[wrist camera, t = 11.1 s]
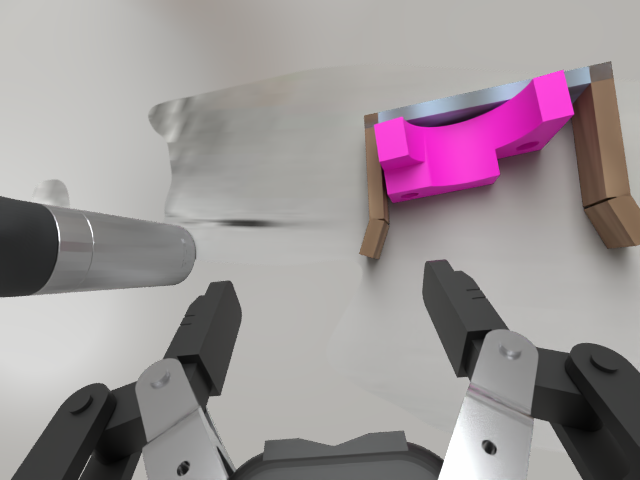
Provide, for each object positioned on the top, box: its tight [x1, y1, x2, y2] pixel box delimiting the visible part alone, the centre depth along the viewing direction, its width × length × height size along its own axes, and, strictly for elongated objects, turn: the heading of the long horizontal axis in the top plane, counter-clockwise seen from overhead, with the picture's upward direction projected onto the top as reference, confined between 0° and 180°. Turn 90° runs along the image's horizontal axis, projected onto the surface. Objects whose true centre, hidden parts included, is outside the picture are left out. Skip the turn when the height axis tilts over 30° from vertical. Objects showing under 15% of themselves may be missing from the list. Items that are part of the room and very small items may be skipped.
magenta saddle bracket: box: [374, 70, 574, 203], centre depth 29 cm, size 15×6×8 cm, turn 97°
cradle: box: [359, 61, 640, 259], centre depth 29 cm, size 24×16×4 cm, turn 92°
